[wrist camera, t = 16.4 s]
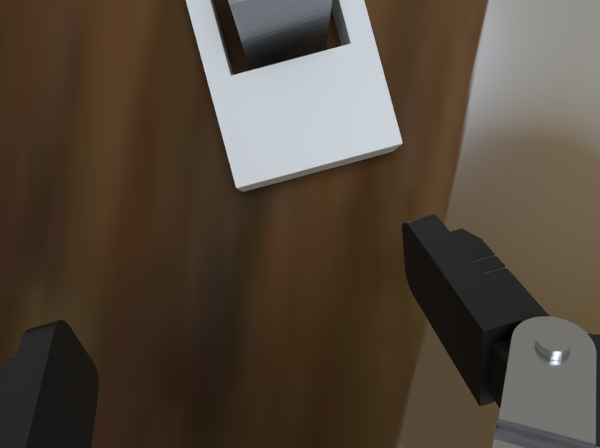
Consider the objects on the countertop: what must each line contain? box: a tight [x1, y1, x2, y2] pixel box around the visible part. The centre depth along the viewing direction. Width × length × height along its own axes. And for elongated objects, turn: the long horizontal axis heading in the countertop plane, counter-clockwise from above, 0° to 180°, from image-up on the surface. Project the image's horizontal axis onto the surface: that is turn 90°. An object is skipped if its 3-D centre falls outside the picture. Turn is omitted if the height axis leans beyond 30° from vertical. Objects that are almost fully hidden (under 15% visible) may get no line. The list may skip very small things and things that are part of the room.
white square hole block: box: [186, 0, 403, 192], centre depth 28 cm, size 9×18×3 cm, turn 15°
